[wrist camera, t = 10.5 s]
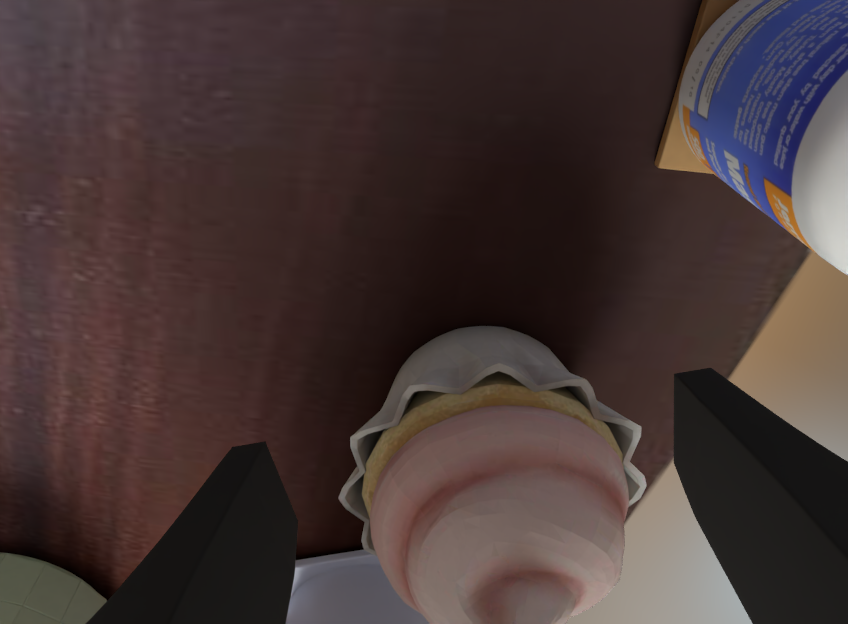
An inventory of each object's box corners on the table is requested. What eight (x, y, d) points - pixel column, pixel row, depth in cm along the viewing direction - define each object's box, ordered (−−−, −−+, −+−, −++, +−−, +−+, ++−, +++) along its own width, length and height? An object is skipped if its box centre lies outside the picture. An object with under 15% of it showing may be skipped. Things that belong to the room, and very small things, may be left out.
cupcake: (622, 274, 22) (765, 506, 13) (592, 481, 26) (683, 752, 18) (337, 283, 22) (292, 523, 13) (359, 490, 26) (336, 766, 18)
